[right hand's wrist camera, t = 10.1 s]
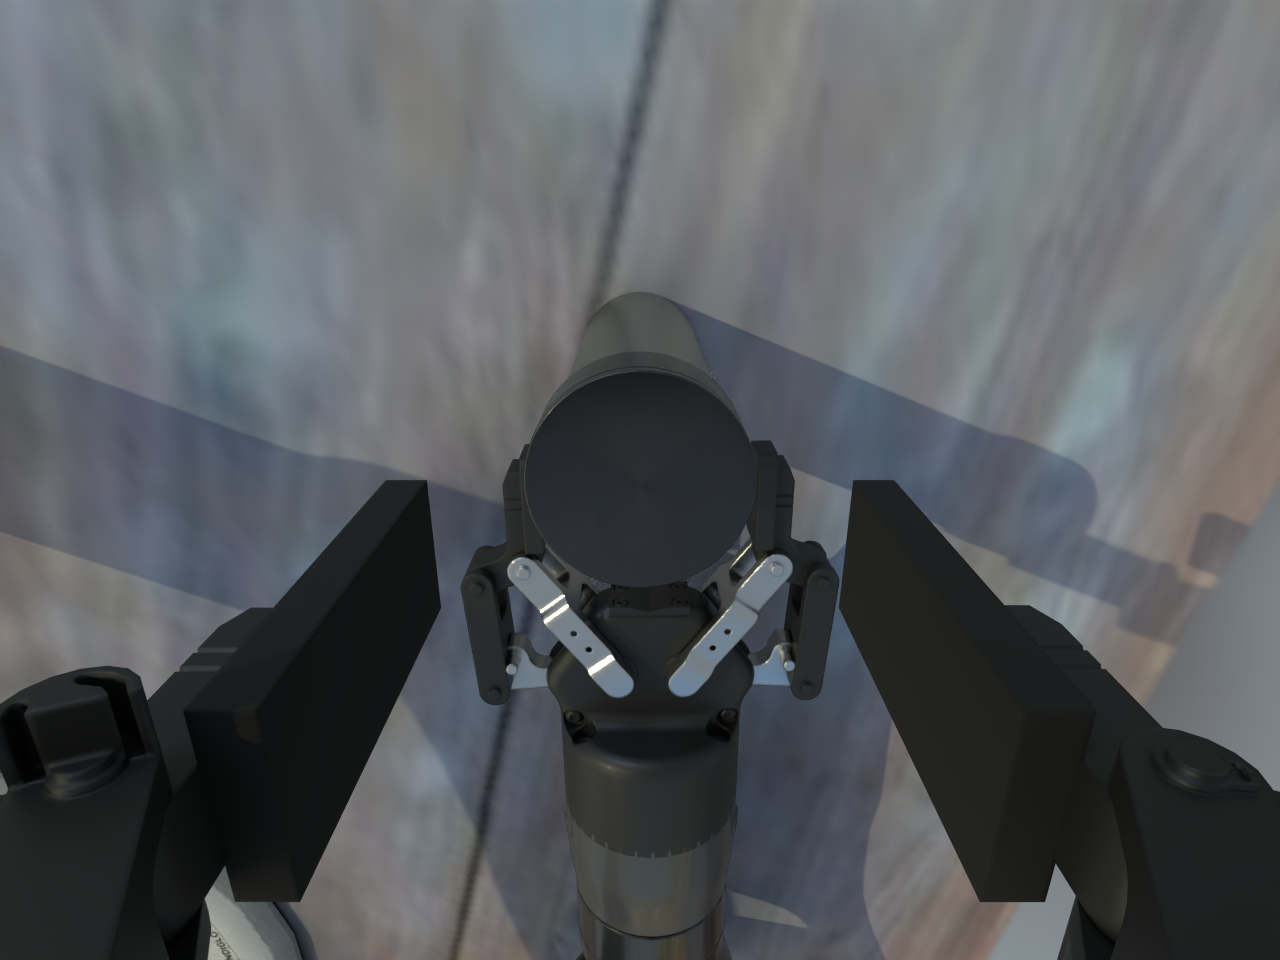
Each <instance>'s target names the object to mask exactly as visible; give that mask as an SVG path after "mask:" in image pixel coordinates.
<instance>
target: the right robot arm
mask: <svg viewBox="0 0 1280 960" xmlns="http://www.w3.org/2000/svg"><path fill="white" fill-rule="evenodd" d="M440 609H441V604H440V595H439V586H438V577H437V568H436V559H435V550H434V541H433V532H432V523H431V514H430V505H429V496H428V487H427V480H386V481H385V482H384V483H383V484H382V485H381V487H380V488H379V489H378V490H377V491H376V492H375V493H374V494H373V496H372V497H371V498H370V499H369V500H368V501H367V502H366V504H365V505H364V506H363V507H362V508H361V509H360V510H359V511H358V513H357V514H356V515H355V516H354V517H353V518H352V519H351V521H350V522H349V523H348V524H347V525H346V526H345V527H344V528H343V530H342V531H341V532H340V533H339V534H338V535H337V536H336V538H335V539H334V540H333V541H332V542H331V543H330V544H329V545H328V547H327V548H326V549H325V550H324V551H323V552H322V553H321V555H320V556H319V557H318V558H317V559H316V560H315V561H314V562H313V564H312V565H311V566H310V567H309V568H308V569H307V570H306V571H305V573H304V574H303V575H302V576H301V577H300V578H299V579H298V581H297V582H296V583H295V584H294V585H293V586H292V587H291V588H290V590H289V591H288V592H287V593H286V594H285V595H284V596H283V598H282V599H281V600H280V601H279V602H278V603H277V604H276V605H275V607H274V608H250V609H248V610H247V611H245V612H243V613H241V614H240V615H238V616H236V617H235V618H233V619H231V620H230V621H228V622H226V623H224V624H223V625H221V626H219V627H218V628H217V629H216V630H215V631H214V632H213V633H212V635H211V636H210V637H209V638H208V639H207V640H206V641H205V642H204V643H203V644H202V645H201V646H200V647H199V648H198V652H197V653H193V654H192V655H191V656H190V657H189V658H188V659H187V660H186V661H185V662H184V663H183V664H182V665H181V666H180V671H179V672H175V673H174V674H173V675H172V676H171V677H170V678H169V679H168V680H167V681H166V682H165V683H164V684H163V685H162V686H161V687H160V688H159V689H158V690H157V691H156V692H155V693H154V694H153V695H152V696H151V697H150V698H149V699H148V701H147V699H146V695H145V692H144V689H143V685H142V682H141V678H140V676H139V675H137V674H136V673H134V672H133V671H131V670H130V669H128V668H120V667H112V666H102V667H93V668H84V669H79V670H75V671H71V672H68V673H64V674H61V675H57V676H53V677H50V678H48V679H46V680H43V681H41V682H39V683H37V684H34V685H32V686H30V687H27V688H25V689H23V690H21V691H19V692H18V693H16V694H15V695H13V696H12V697H10V698H9V699H7V700H6V701H4V702H3V703H1V704H0V770H1V772H2V775H3V777H4V780H5V782H6V785H7V787H8V791H7V793H6V794H4V795H0V960H208V954H209V945H210V936H211V922H210V916H209V911H208V907H207V904H206V900H205V897H206V896H207V894H208V893H209V891H210V889H211V888H212V886H213V884H214V883H215V881H216V880H217V878H218V876H219V875H220V873H221V871H222V870H223V868H224V867H226V871H227V874H228V878H229V882H230V885H231V889H232V893H233V896H234V900H235V902H300V901H301V899H302V897H303V895H304V892H305V890H306V888H307V886H308V884H309V882H310V880H311V878H312V876H313V874H314V872H315V869H316V867H317V865H318V863H319V861H320V859H321V857H322V855H323V853H324V851H325V849H326V847H327V844H328V842H329V840H330V838H331V836H332V834H333V832H334V830H335V828H336V826H337V824H338V822H339V819H340V817H341V815H342V813H343V811H344V809H345V807H346V805H347V803H348V801H349V799H350V796H351V794H352V792H353V790H354V788H355V786H356V784H357V782H358V780H359V778H360V776H361V774H362V771H363V769H364V767H365V765H366V763H367V761H368V759H369V757H370V755H371V753H372V751H373V749H374V746H375V744H376V742H377V740H378V738H379V736H380V734H381V732H382V730H383V728H384V726H385V723H386V721H387V719H388V717H389V715H390V713H391V711H392V709H393V707H394V705H395V703H396V701H397V698H398V696H399V694H400V692H401V690H402V688H403V686H404V684H405V682H406V680H407V678H408V676H409V673H410V671H411V669H412V667H413V665H414V663H415V661H416V659H417V657H418V655H419V653H420V650H421V648H422V646H423V644H424V642H425V640H426V638H427V636H428V634H429V632H430V630H431V628H432V625H433V623H434V621H435V619H436V617H437V615H438V613H439V611H440ZM839 609H840V611H841V613H842V615H843V617H844V619H845V621H846V623H847V625H848V628H849V630H850V632H851V634H852V636H853V638H854V640H855V642H856V644H857V646H858V648H859V651H860V653H861V655H862V657H863V659H864V661H865V663H866V665H867V667H868V669H869V671H870V673H871V676H872V678H873V680H874V682H875V684H876V686H877V688H878V690H879V692H880V694H881V696H882V698H883V701H884V703H885V705H886V707H887V709H888V711H889V713H890V715H891V717H892V719H893V721H894V724H895V726H896V728H897V730H898V732H899V734H900V736H901V738H902V740H903V742H904V744H905V746H906V749H907V751H908V753H909V755H910V757H911V759H912V761H913V763H914V765H915V767H916V769H917V771H918V774H919V776H920V778H921V780H922V782H923V784H924V786H925V788H926V790H927V792H928V794H929V797H930V799H931V801H932V803H933V805H934V807H935V809H936V811H937V813H938V815H939V817H940V819H941V822H942V824H943V826H944V828H945V830H946V832H947V834H948V836H949V838H950V840H951V842H952V844H953V847H954V849H955V851H956V853H957V855H958V857H959V859H960V861H961V863H962V865H963V867H964V870H965V872H966V874H967V876H968V878H969V880H970V882H971V884H972V886H973V888H974V890H975V892H976V895H977V897H978V899H979V901H980V902H1045V900H1046V896H1047V893H1048V889H1049V885H1050V882H1051V878H1052V874H1053V871H1054V867H1055V863H1056V864H1057V866H1058V868H1059V869H1060V871H1061V872H1062V874H1063V876H1064V877H1065V879H1066V880H1067V882H1068V884H1069V885H1070V887H1071V889H1072V890H1073V892H1074V893H1075V895H1076V897H1075V900H1074V904H1073V907H1072V911H1071V914H1070V918H1069V921H1068V924H1067V928H1066V931H1065V935H1064V938H1063V942H1062V945H1061V948H1060V952H1059V955H1058V959H1057V960H1280V792H1278V791H1274V790H1273V789H1272V788H1271V786H1270V785H1269V784H1268V783H1267V781H1266V780H1265V779H1264V777H1263V776H1262V775H1261V774H1260V772H1259V771H1258V770H1257V769H1256V768H1254V767H1253V766H1252V765H1250V764H1249V763H1248V762H1246V761H1245V760H1244V759H1242V758H1241V757H1240V756H1238V755H1237V754H1236V753H1234V752H1232V751H1230V750H1228V749H1226V748H1224V747H1222V746H1220V745H1218V744H1216V743H1214V742H1212V741H1210V740H1208V739H1205V738H1202V737H1199V736H1196V735H1193V734H1190V733H1187V732H1184V731H1181V730H1174V729H1166V728H1162V727H1161V726H1160V725H1159V724H1158V723H1157V721H1156V720H1155V719H1154V718H1153V717H1152V716H1151V715H1150V714H1149V713H1148V712H1147V711H1146V710H1145V709H1144V708H1143V707H1142V706H1141V705H1140V704H1139V703H1138V702H1137V701H1136V700H1135V699H1134V698H1133V697H1132V696H1131V695H1130V694H1129V693H1128V692H1127V691H1126V690H1125V689H1124V688H1123V687H1122V686H1121V685H1120V684H1119V683H1118V682H1117V681H1116V679H1115V678H1114V677H1113V676H1112V675H1111V674H1110V673H1109V672H1108V671H1107V670H1106V669H1101V664H1100V663H1099V662H1098V661H1097V660H1096V659H1095V658H1094V657H1093V656H1092V655H1091V654H1090V653H1089V652H1088V651H1087V650H1083V646H1082V645H1081V644H1080V643H1079V642H1078V641H1077V640H1076V639H1075V638H1074V636H1073V635H1072V634H1071V633H1070V632H1069V631H1068V630H1067V629H1066V628H1065V627H1064V626H1063V625H1062V624H1060V623H1059V622H1057V621H1055V620H1054V619H1052V618H1050V617H1048V616H1047V615H1045V614H1043V613H1042V612H1040V611H1038V610H1036V609H1035V608H1033V607H1031V606H1030V605H1004V604H1003V603H1002V602H1001V601H1000V600H999V599H998V598H997V596H996V595H995V594H994V593H993V592H992V591H991V590H990V588H989V587H988V586H987V585H986V584H985V583H984V582H983V581H982V579H981V578H980V577H979V576H978V575H977V574H976V573H975V571H974V570H973V569H972V568H971V567H970V566H969V565H968V564H967V562H966V561H965V560H964V559H963V558H962V557H961V556H960V555H959V553H958V552H957V551H956V550H955V549H954V548H953V547H952V545H951V544H950V543H949V542H948V541H947V540H946V539H945V538H944V536H943V535H942V534H941V533H940V532H939V531H938V530H937V528H936V527H935V526H934V525H933V524H932V523H931V522H930V521H929V519H928V518H927V517H926V516H925V515H924V514H923V513H922V511H921V510H920V509H919V508H918V507H917V506H916V505H915V504H914V502H913V501H912V500H911V499H910V498H909V497H908V496H907V494H906V493H905V492H904V491H903V490H902V489H901V488H900V487H899V485H898V484H897V483H896V482H895V481H894V480H853V487H852V496H851V505H850V514H849V523H848V532H847V541H846V550H845V559H844V568H843V577H842V586H841V595H840V604H839Z"/></svg>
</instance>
